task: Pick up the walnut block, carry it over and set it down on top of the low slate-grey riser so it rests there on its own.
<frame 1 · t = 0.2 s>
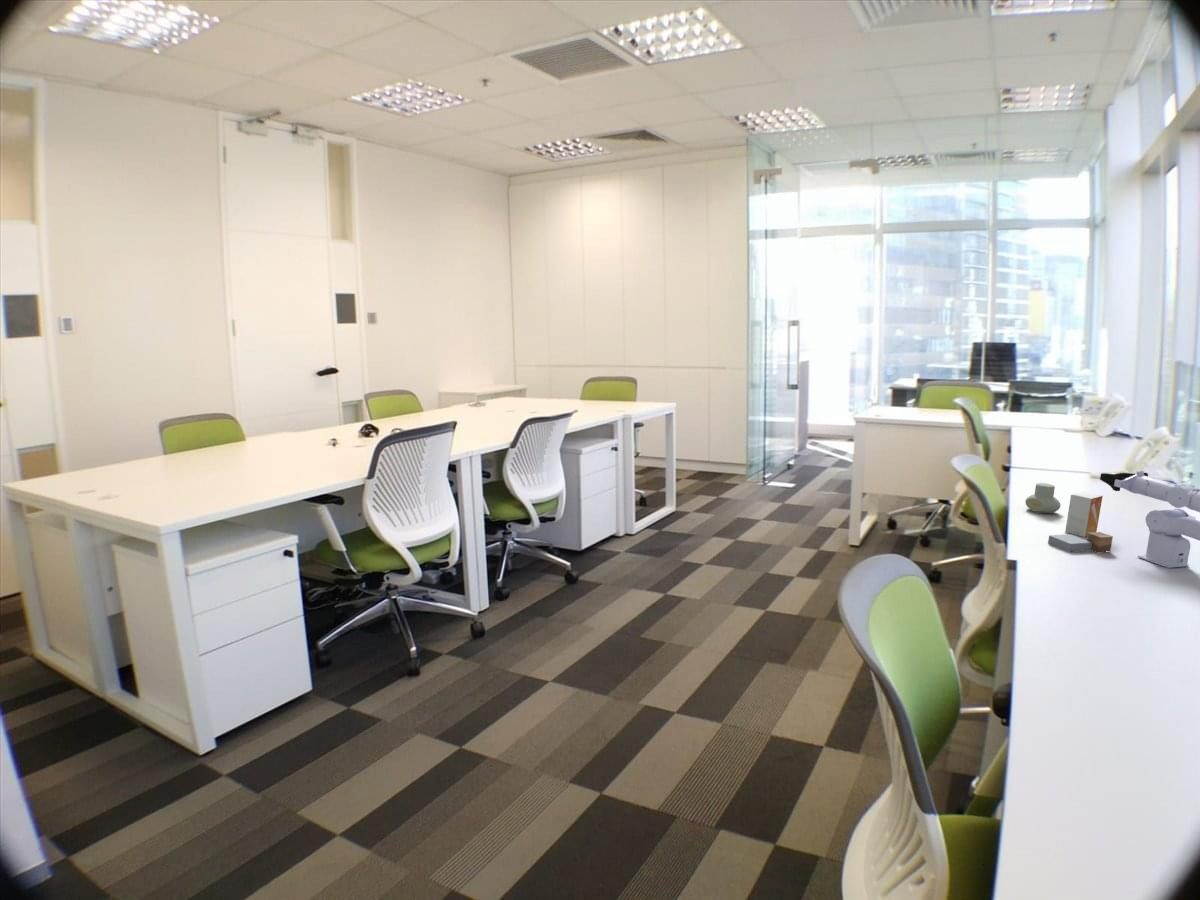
hand: (1110, 476, 229), 21 cm above the table, tool horizontal, fingers open, 7 cm apart
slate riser: (1068, 548, 226), on the table
small box: (1080, 533, 240), on the table
walnut block: (1097, 550, 224), on the table
air freshener: (1041, 512, 265), on the table
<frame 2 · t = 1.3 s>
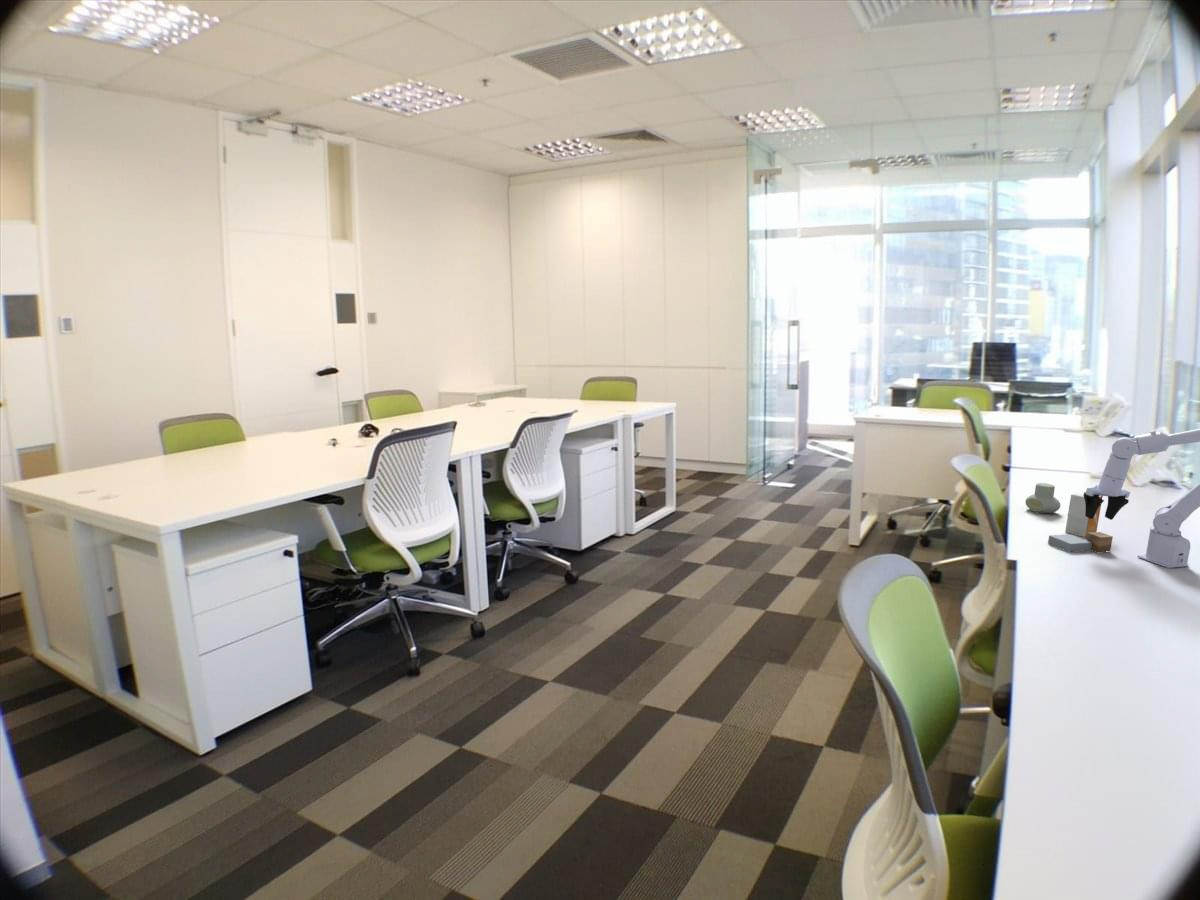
hand: (1098, 517, 223), 10 cm above the table, tool pointing down, fingers open, 7 cm apart
nothing on the table moved.
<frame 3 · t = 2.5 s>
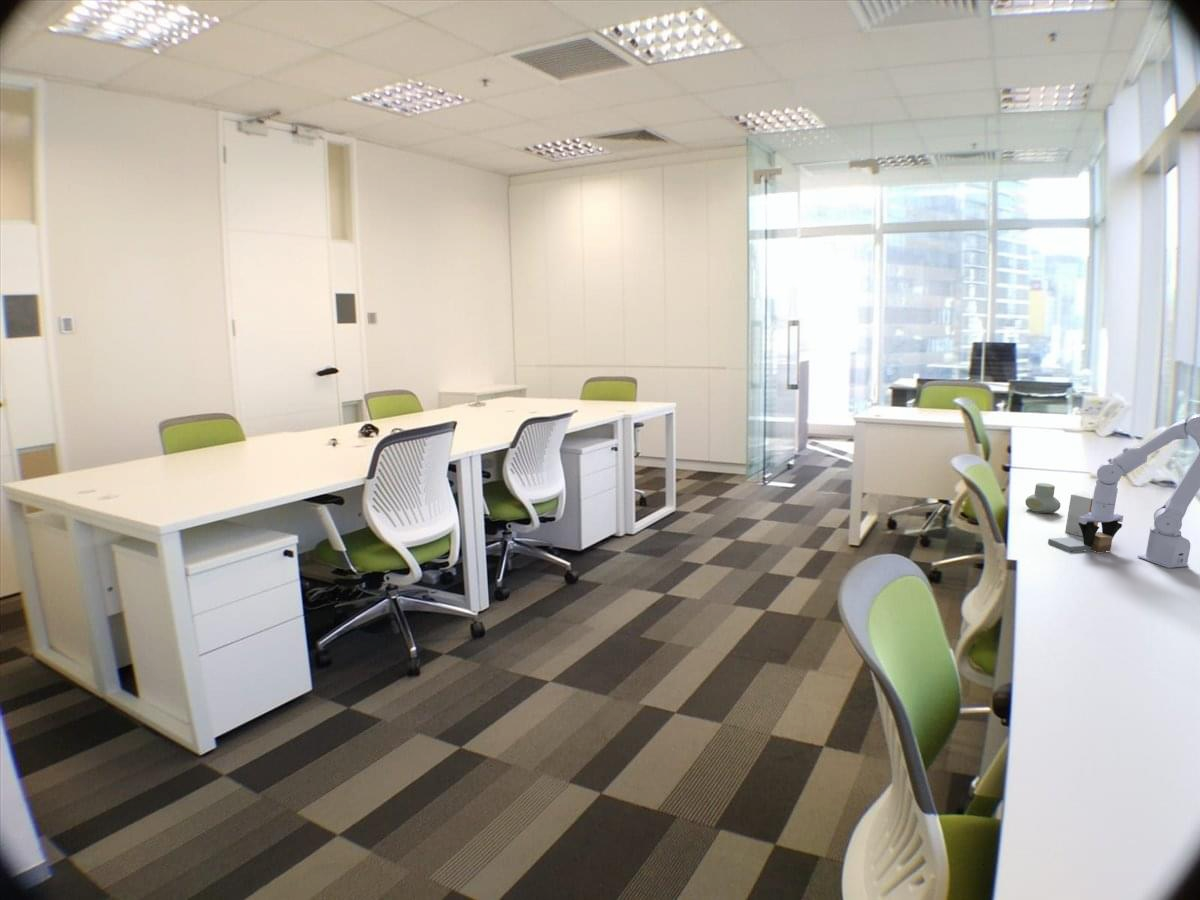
hand: (1096, 544, 223), 2 cm above the table, tool pointing down, fingers open, 6 cm apart
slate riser: (1068, 551, 226), on the table, touching gripper
everything else where it was.
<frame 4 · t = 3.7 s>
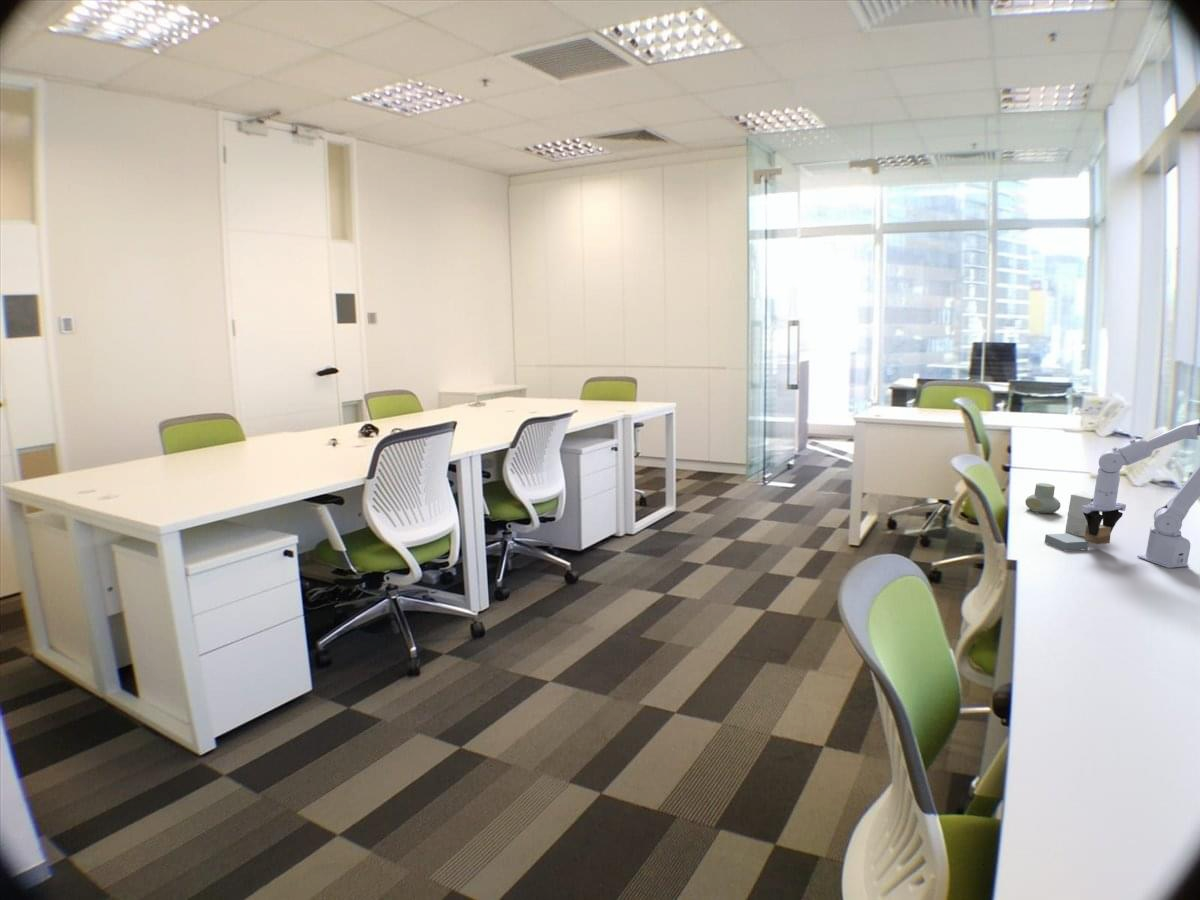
hand: (1099, 534, 223), 5 cm above the table, tool pointing down, fingers closed on walnut block, 4 cm apart
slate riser: (1065, 547, 227), on the table
walnut block: (1097, 541, 223), point 2 cm above the table, touching gripper
everything else where it was.
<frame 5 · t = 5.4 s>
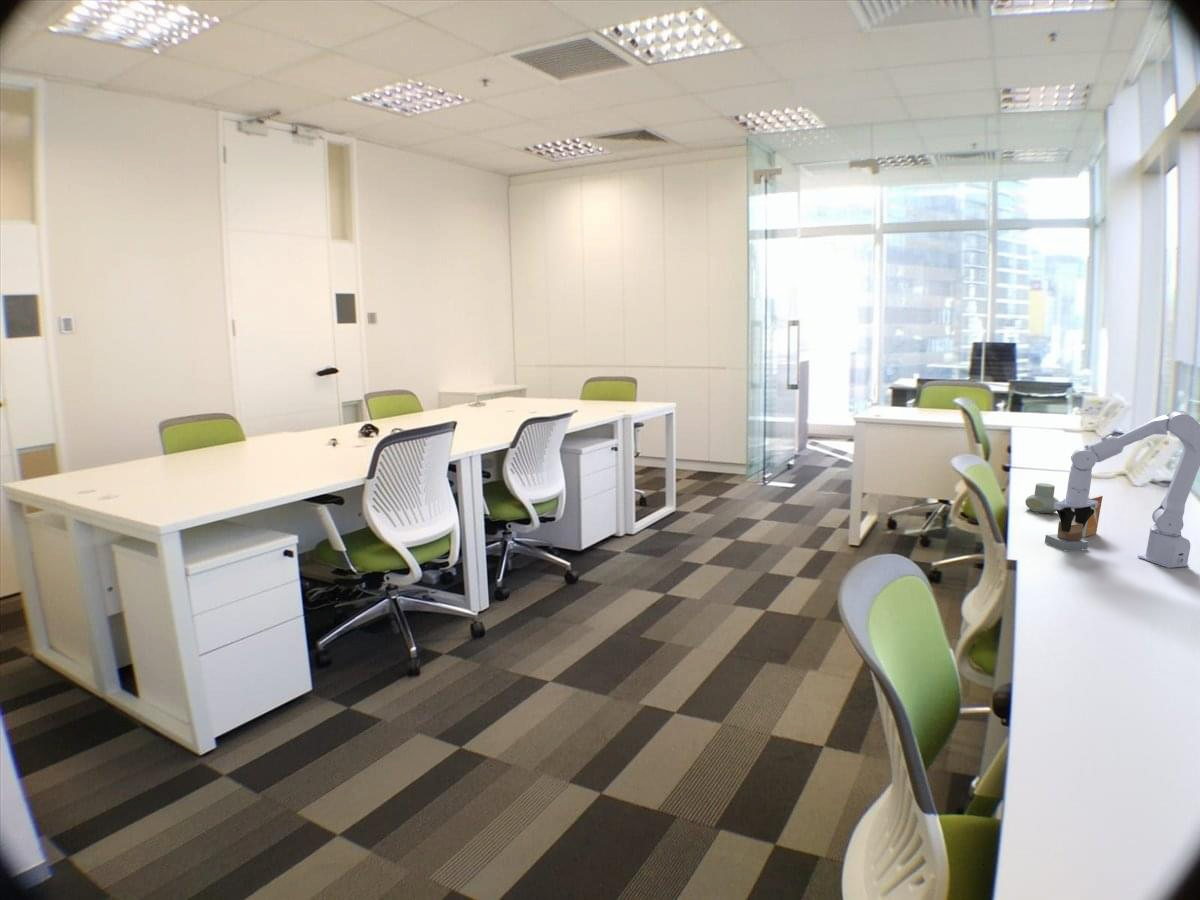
hand: (1072, 530, 225), 5 cm above the table, tool pointing down, fingers closed on walnut block, 4 cm apart
walnut block: (1069, 538, 226), point 3 cm above the table, touching gripper
everything else where it was.
when the fingers open (5 cm above the table, at t = 5.6 s): walnut block stays where it is, resting on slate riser.
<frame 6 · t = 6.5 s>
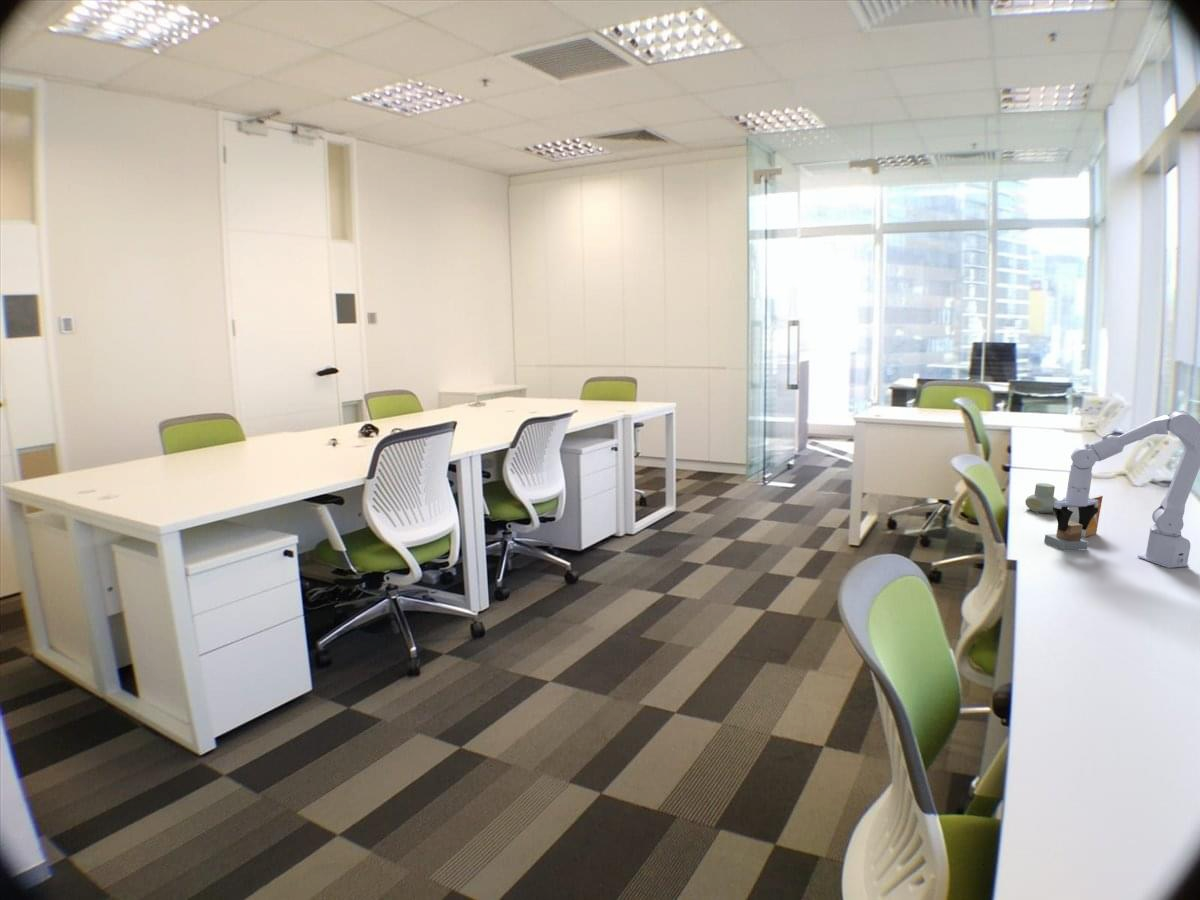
hand: (1072, 529, 225), 6 cm above the table, tool pointing down, fingers open, 7 cm apart
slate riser: (1065, 547, 227), on the table, touching walnut block
walnut block: (1068, 538, 226), point 2 cm above the table, touching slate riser
everything else where it was.
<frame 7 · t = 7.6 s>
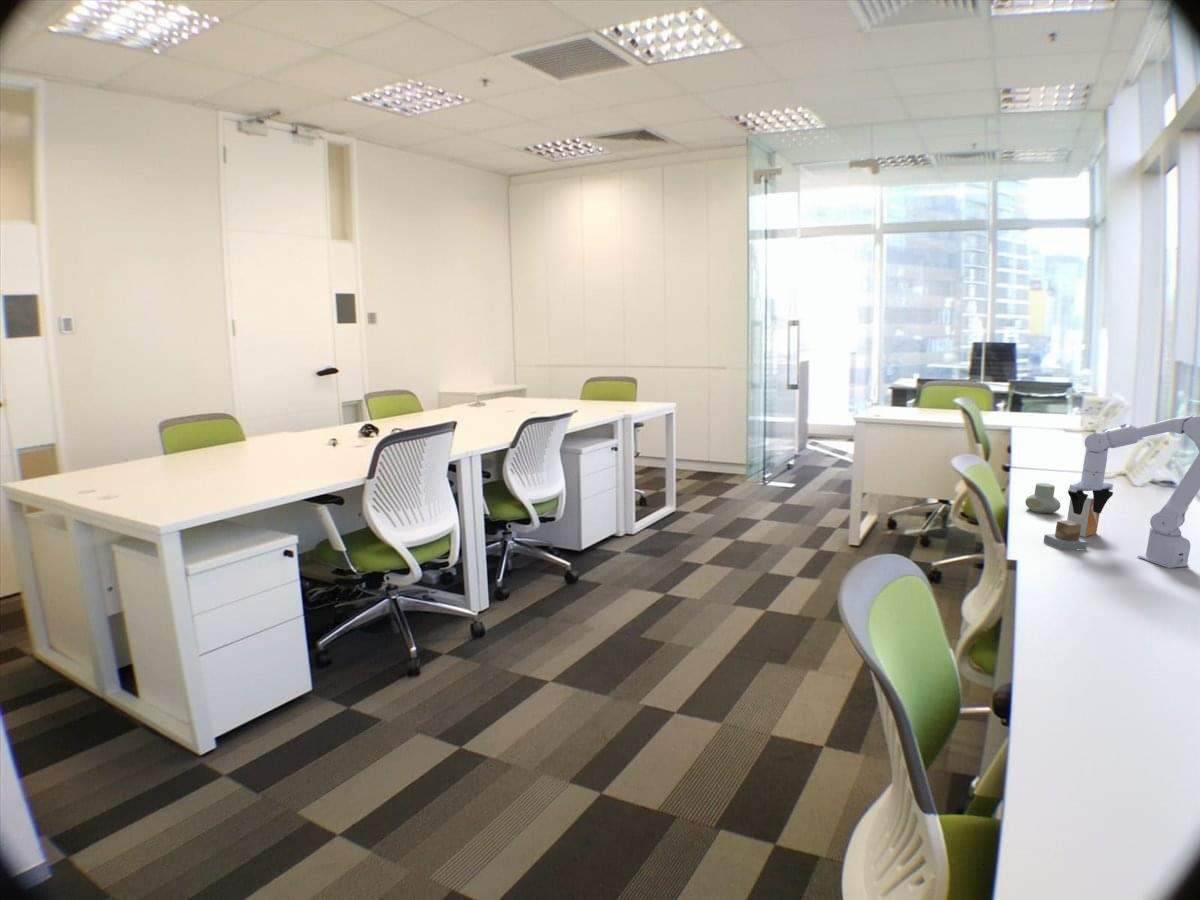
hand: (1087, 513, 228), 10 cm above the table, tool pointing down, fingers open, 7 cm apart
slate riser: (1064, 547, 227), on the table
walnut block: (1066, 538, 226), point 3 cm above the table
everything else where it was.
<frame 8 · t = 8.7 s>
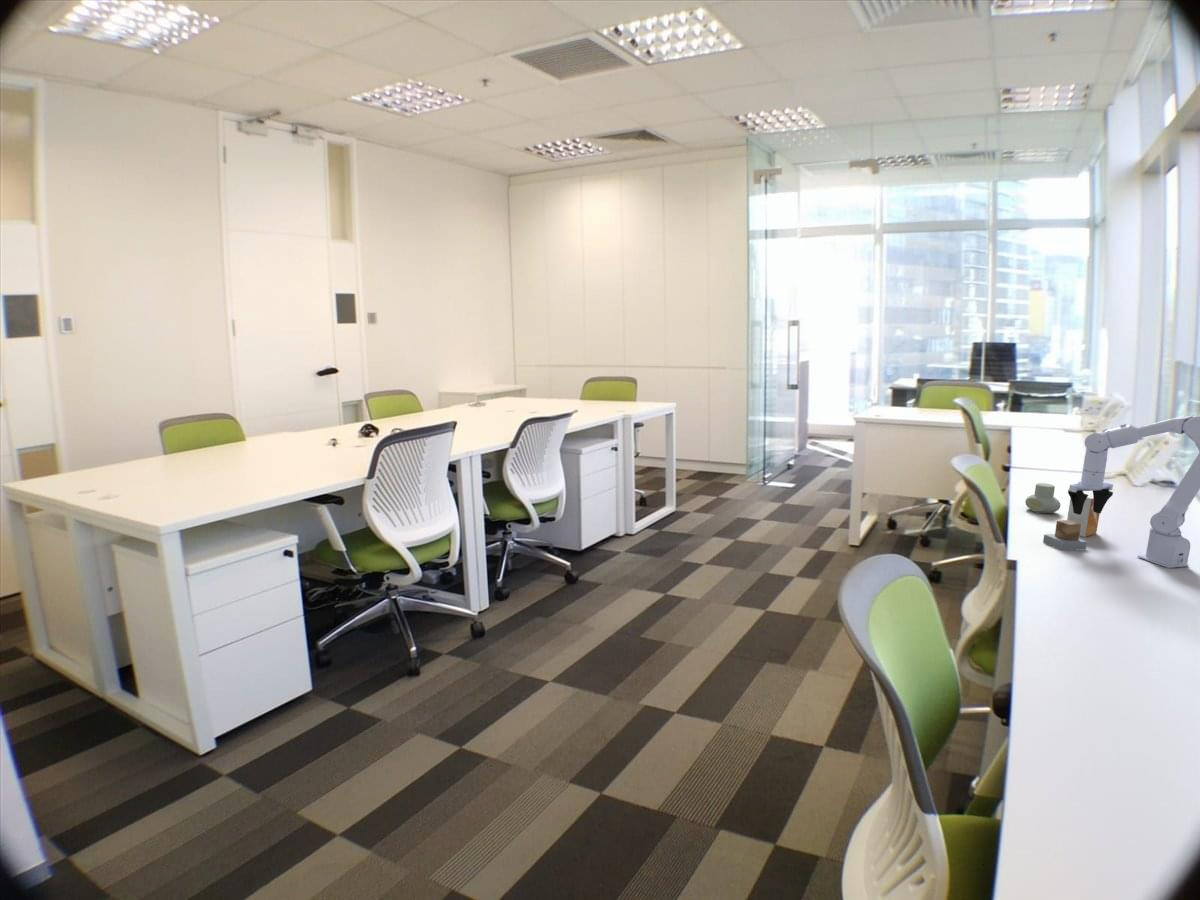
hand: (1087, 513, 228), 10 cm above the table, tool pointing down, fingers open, 7 cm apart
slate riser: (1063, 547, 227), on the table, touching walnut block
walnut block: (1066, 537, 227), point 3 cm above the table, touching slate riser
everything else where it was.
at the end: walnut block 0.4 cm off-centre on the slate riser, point 3.0 cm above the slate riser's base; walnut block tilted 1°; walnut block touching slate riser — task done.
